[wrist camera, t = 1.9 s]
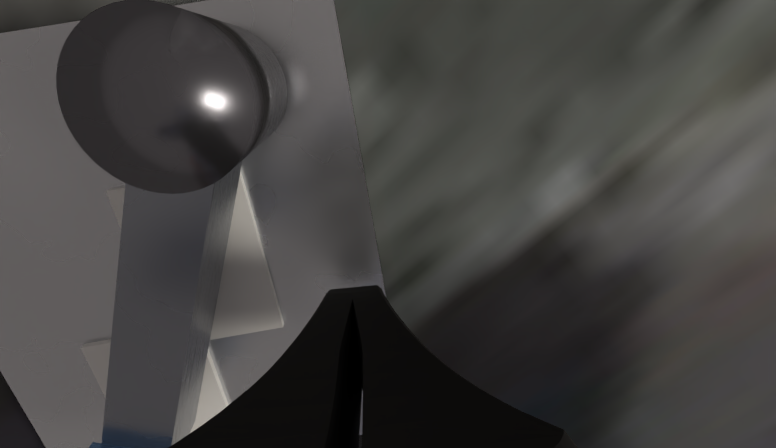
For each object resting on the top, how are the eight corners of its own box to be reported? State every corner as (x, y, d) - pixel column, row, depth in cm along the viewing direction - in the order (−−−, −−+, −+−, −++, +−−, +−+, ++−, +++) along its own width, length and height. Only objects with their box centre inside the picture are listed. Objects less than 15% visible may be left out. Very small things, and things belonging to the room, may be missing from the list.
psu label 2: (243, 444, 15) (241, 449, 15) (142, 462, 15) (140, 467, 15) (199, 323, 13) (196, 327, 13) (84, 344, 13) (80, 347, 13)
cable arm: (168, 4, 10) (59, -30, 6) (298, 44, 10) (269, 36, 7) (123, 411, 14) (40, 538, 10) (219, 425, 14) (174, 551, 11)
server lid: (406, 409, 16) (408, 426, 15) (82, 467, 16) (69, 487, 15) (331, -14, 11) (329, -20, 10) (-146, 62, 11) (-184, 62, 10)
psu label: (283, 323, 13) (283, 326, 13) (171, 342, 13) (169, 346, 13) (240, 167, 12) (237, 169, 11) (109, 188, 11) (106, 191, 11)
